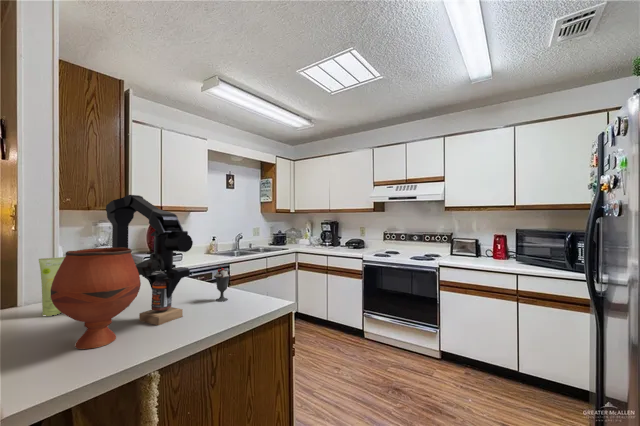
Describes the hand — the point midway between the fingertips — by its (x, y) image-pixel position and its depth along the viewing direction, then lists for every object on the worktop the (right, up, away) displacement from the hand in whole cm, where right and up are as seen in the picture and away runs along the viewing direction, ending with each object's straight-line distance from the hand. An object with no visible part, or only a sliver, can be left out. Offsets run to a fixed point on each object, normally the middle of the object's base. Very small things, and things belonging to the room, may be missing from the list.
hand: (162, 296), depth 94 cm
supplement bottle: (0, -4, 0) cm, 4 cm away
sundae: (+12, -9, +23) cm, 27 cm away
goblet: (-7, -7, -19) cm, 21 cm away
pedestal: (0, -7, 0) cm, 7 cm away
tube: (-39, -7, +2) cm, 39 cm away
